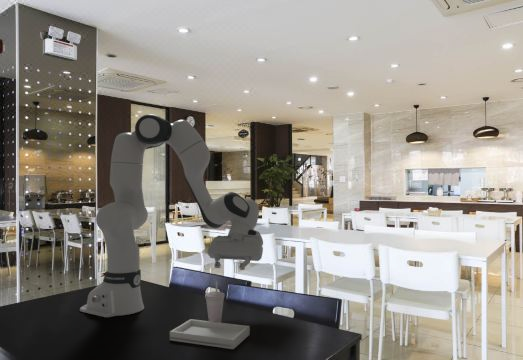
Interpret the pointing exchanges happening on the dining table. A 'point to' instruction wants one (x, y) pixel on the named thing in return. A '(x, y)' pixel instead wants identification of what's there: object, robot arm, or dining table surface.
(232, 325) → the tray
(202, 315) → the dining table surface
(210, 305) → the smoothie
